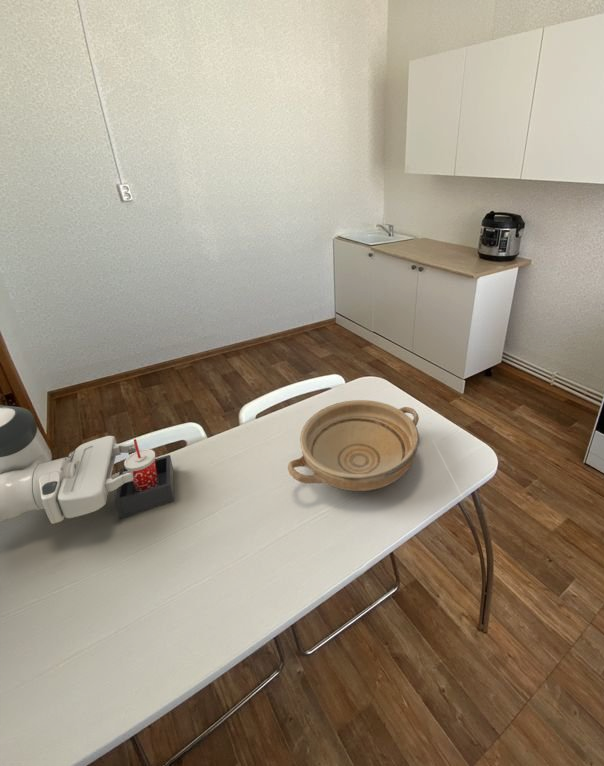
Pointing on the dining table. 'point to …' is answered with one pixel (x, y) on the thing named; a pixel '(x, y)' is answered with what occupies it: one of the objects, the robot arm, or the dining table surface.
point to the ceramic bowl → (357, 445)
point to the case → (147, 491)
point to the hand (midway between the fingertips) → (135, 460)
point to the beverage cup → (142, 468)
